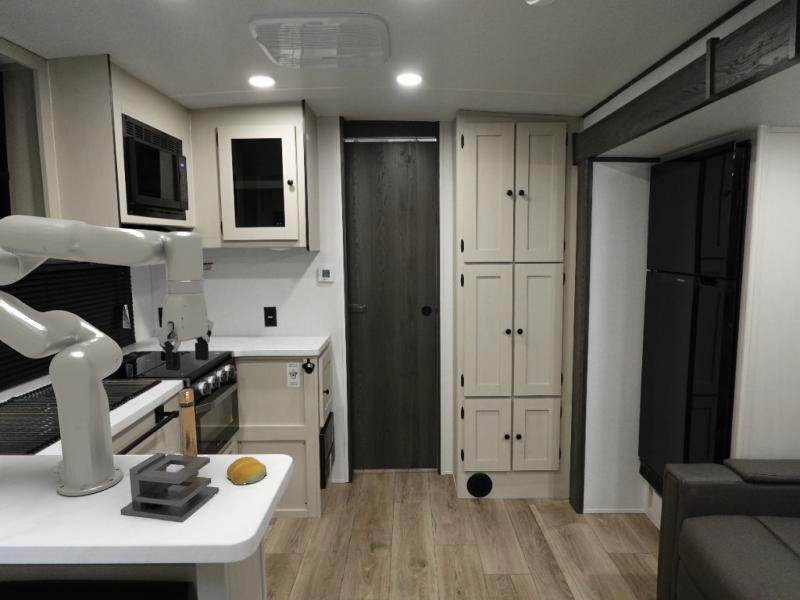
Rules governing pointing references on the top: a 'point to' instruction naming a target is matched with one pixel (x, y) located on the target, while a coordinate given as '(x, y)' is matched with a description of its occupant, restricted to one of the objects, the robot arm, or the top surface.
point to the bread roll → (246, 470)
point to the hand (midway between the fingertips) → (188, 364)
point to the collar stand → (168, 488)
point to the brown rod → (188, 423)
